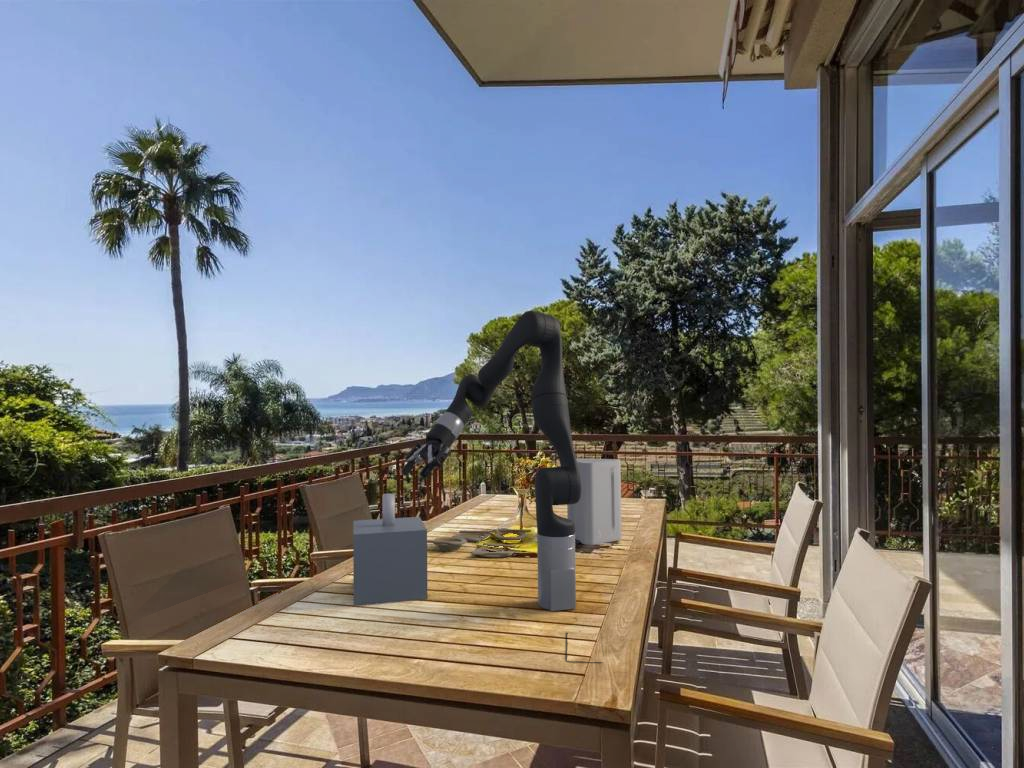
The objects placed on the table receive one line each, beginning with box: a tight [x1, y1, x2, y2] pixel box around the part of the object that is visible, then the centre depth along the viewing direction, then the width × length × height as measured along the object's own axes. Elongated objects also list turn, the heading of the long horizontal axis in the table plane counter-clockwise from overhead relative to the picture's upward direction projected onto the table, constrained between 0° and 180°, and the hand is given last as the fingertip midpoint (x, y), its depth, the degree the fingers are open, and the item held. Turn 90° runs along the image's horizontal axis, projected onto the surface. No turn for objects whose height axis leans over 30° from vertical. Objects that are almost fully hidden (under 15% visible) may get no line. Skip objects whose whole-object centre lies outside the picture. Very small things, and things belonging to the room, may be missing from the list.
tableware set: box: [427, 528, 532, 559], centre depth 209 cm, size 35×29×4 cm
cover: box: [352, 493, 428, 607], centre depth 159 cm, size 18×18×25 cm
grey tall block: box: [566, 458, 623, 546], centre depth 215 cm, size 19×15×28 cm
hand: (412, 475), depth 165 cm, fingers open, 8 cm apart
